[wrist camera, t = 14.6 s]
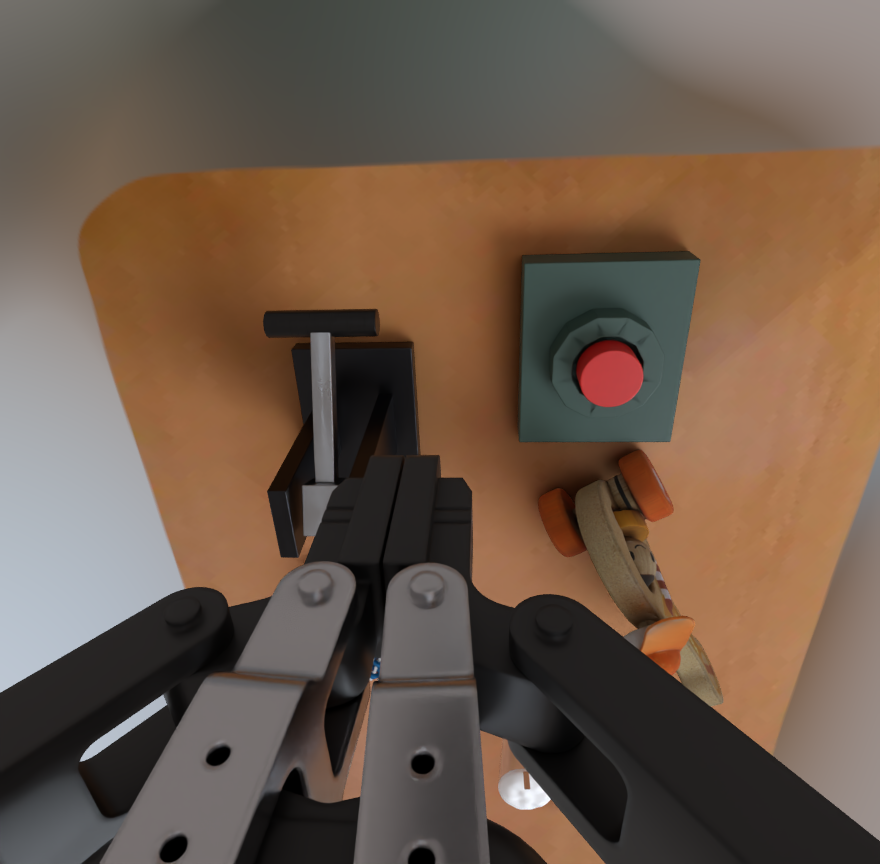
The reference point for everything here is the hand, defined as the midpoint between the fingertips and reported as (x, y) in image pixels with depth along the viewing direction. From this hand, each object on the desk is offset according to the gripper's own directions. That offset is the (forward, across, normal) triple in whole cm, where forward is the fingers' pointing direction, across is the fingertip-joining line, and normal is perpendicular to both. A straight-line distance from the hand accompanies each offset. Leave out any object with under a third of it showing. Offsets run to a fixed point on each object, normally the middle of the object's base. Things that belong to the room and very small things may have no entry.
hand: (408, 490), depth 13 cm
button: (+23, -9, +7) cm, 26 cm away
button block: (+27, -9, +7) cm, 29 cm away
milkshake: (+27, -5, +42) cm, 50 cm away
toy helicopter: (+27, -13, +23) cm, 38 cm away
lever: (+19, +7, +8) cm, 22 cm away
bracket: (+27, +7, +12) cm, 30 cm away
